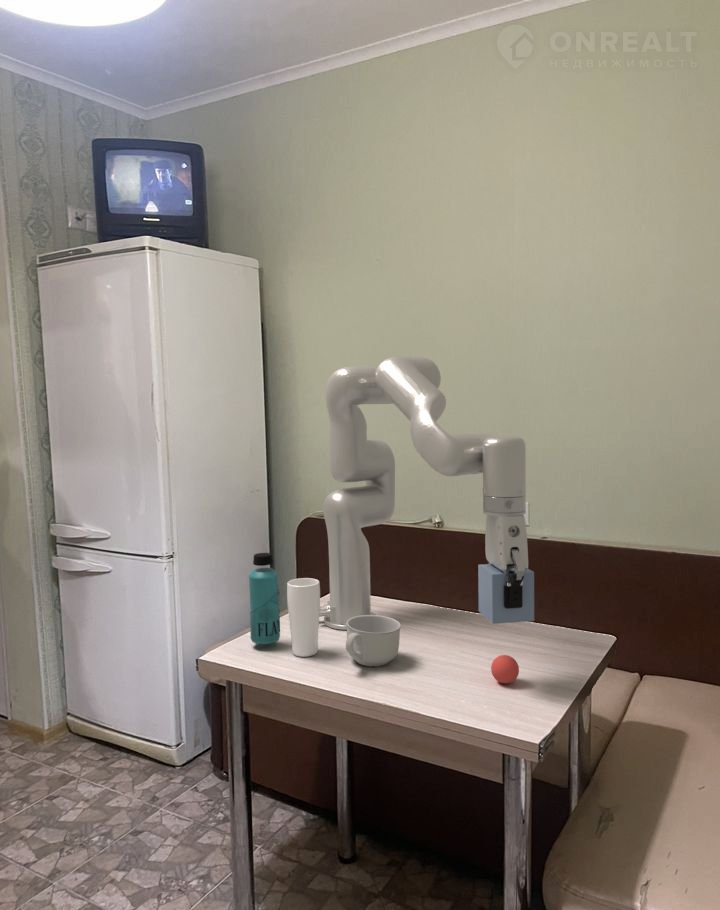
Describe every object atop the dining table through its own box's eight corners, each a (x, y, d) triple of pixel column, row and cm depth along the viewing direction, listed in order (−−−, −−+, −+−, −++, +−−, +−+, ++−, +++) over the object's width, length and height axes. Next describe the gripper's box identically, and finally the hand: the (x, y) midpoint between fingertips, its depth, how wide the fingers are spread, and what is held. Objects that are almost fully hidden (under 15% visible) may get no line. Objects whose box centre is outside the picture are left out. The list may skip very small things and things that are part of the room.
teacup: (373, 647, 147) (372, 610, 147) (412, 660, 140) (411, 621, 139) (324, 666, 138) (323, 626, 137) (362, 681, 130) (362, 639, 129)
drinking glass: (323, 647, 148) (322, 577, 147) (318, 659, 141) (316, 586, 140) (292, 647, 148) (290, 577, 147) (285, 658, 142) (283, 586, 141)
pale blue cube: (492, 623, 123) (492, 574, 122) (478, 611, 130) (478, 564, 130) (534, 620, 124) (534, 572, 123) (518, 608, 132) (517, 562, 131)
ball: (490, 688, 128) (498, 678, 124) (485, 661, 131) (492, 651, 127) (516, 686, 129) (525, 676, 125) (510, 660, 132) (519, 650, 128)
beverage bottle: (254, 653, 145) (251, 558, 144) (246, 643, 151) (243, 552, 150) (284, 648, 148) (282, 555, 146) (275, 638, 154) (273, 549, 152)
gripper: (543, 511, 118) (543, 613, 119) (506, 497, 135) (507, 587, 136) (501, 513, 116) (501, 616, 118) (469, 499, 134) (470, 589, 135)
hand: (504, 600), depth 127 cm, fingers closed on pale blue cube, 7 cm apart
